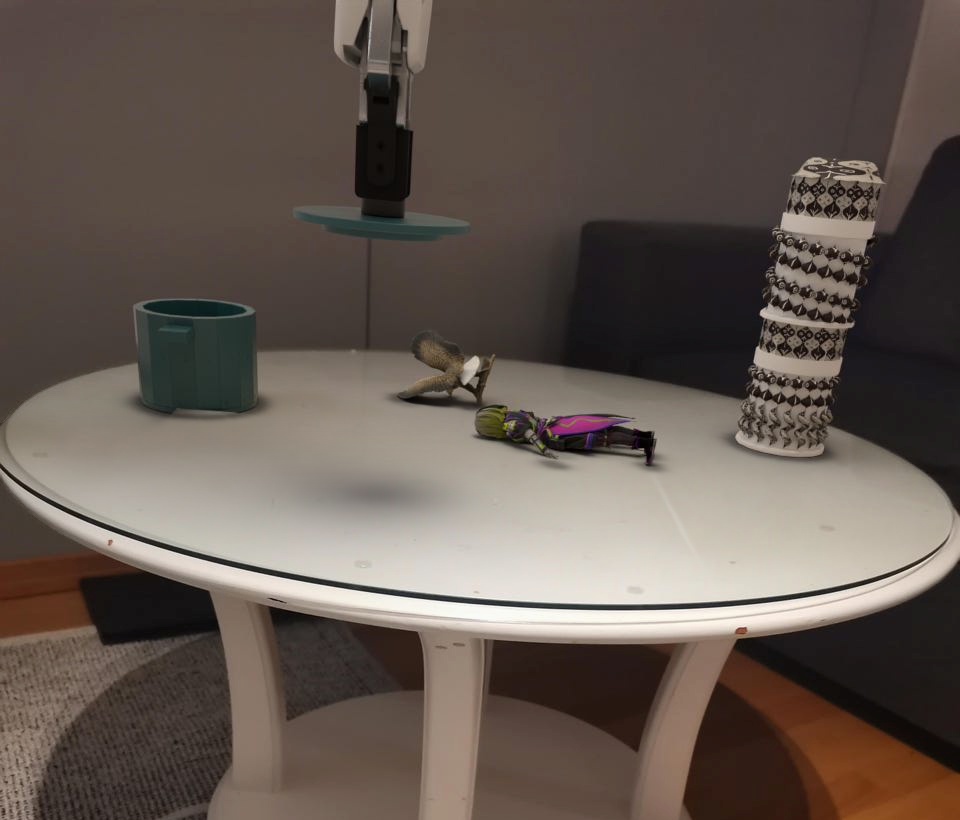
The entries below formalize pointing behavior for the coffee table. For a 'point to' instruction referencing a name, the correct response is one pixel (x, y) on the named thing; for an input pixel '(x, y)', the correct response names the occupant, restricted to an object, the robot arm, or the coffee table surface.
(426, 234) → the lid
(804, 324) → the decorative candle
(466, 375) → the eagle figurine
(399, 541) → the coffee table surface
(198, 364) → the pot
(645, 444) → the character figure
